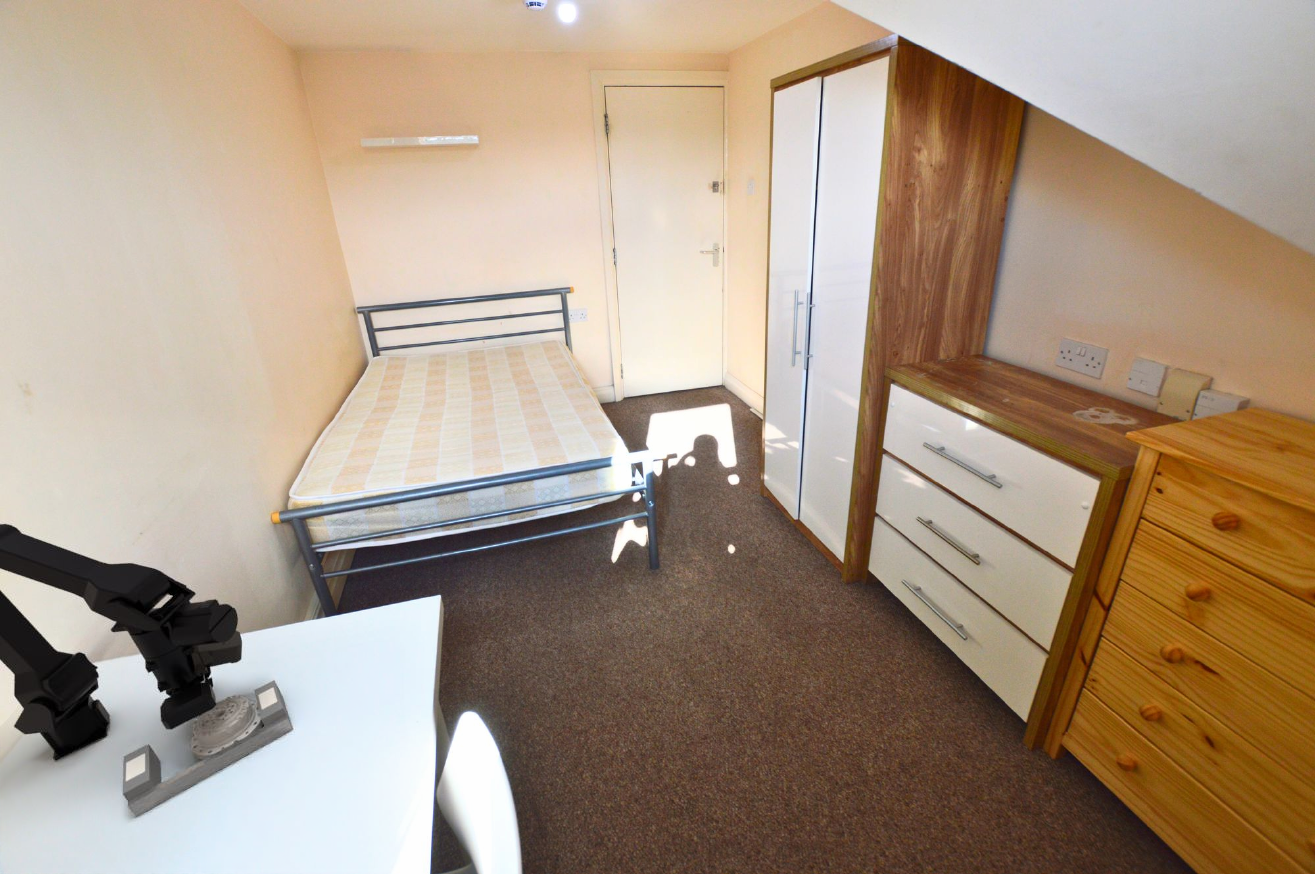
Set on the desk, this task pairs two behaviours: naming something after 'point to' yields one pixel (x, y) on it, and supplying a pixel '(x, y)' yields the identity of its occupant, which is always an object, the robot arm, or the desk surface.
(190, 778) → the metal rail
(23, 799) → the desk surface
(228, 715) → the mechanical component
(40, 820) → the desk surface
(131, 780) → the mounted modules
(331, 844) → the desk surface
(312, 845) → the desk surface
